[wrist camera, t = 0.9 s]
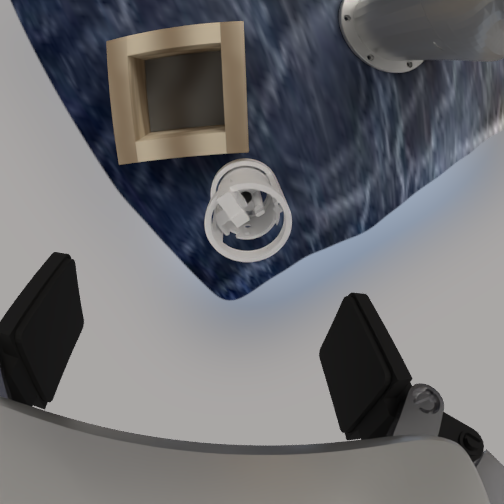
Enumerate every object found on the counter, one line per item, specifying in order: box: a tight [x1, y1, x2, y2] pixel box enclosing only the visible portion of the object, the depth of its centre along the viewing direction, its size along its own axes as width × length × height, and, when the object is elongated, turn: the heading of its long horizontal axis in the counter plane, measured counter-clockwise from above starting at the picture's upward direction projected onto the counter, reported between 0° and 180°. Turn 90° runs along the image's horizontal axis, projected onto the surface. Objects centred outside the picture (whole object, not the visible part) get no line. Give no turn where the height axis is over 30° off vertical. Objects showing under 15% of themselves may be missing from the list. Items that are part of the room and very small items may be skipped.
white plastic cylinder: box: [204, 158, 292, 262], centre depth 30 cm, size 7×7×15 cm
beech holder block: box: [107, 21, 249, 165], centre depth 28 cm, size 13×13×7 cm
